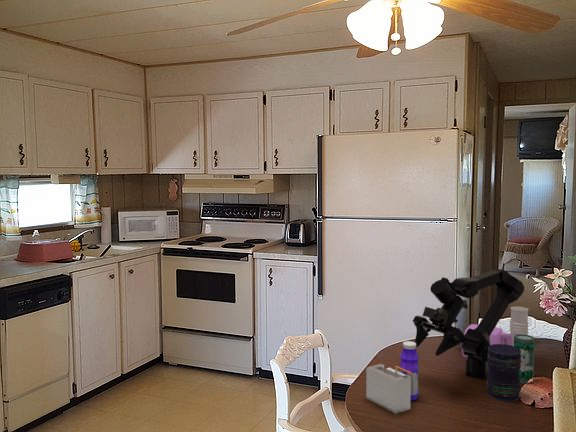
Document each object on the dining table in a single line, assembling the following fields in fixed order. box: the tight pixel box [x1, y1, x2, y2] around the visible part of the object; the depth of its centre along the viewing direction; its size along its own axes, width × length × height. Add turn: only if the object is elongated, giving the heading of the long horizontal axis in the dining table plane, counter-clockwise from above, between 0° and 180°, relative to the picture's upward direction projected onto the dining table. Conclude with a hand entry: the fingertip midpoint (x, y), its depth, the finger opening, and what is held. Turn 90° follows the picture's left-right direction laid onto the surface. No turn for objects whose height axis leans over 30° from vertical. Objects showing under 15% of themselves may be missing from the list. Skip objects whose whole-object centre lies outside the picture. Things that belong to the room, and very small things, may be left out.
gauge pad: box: [385, 365, 412, 378], centre depth 167 cm, size 2×11×10 cm, turn 33°
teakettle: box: [456, 323, 513, 359], centre depth 207 cm, size 17×17×12 cm
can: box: [514, 334, 536, 385], centre depth 182 cm, size 6×6×15 cm
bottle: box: [399, 340, 420, 401], centre depth 170 cm, size 7×6×17 cm
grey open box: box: [365, 363, 411, 415], centre depth 165 cm, size 6×13×10 cm, turn 33°
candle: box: [509, 306, 530, 346], centre depth 218 cm, size 7×7×15 cm
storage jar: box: [486, 343, 521, 402], centre depth 171 cm, size 10×10×15 cm
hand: (425, 351), depth 174 cm, fingers open, 9 cm apart
